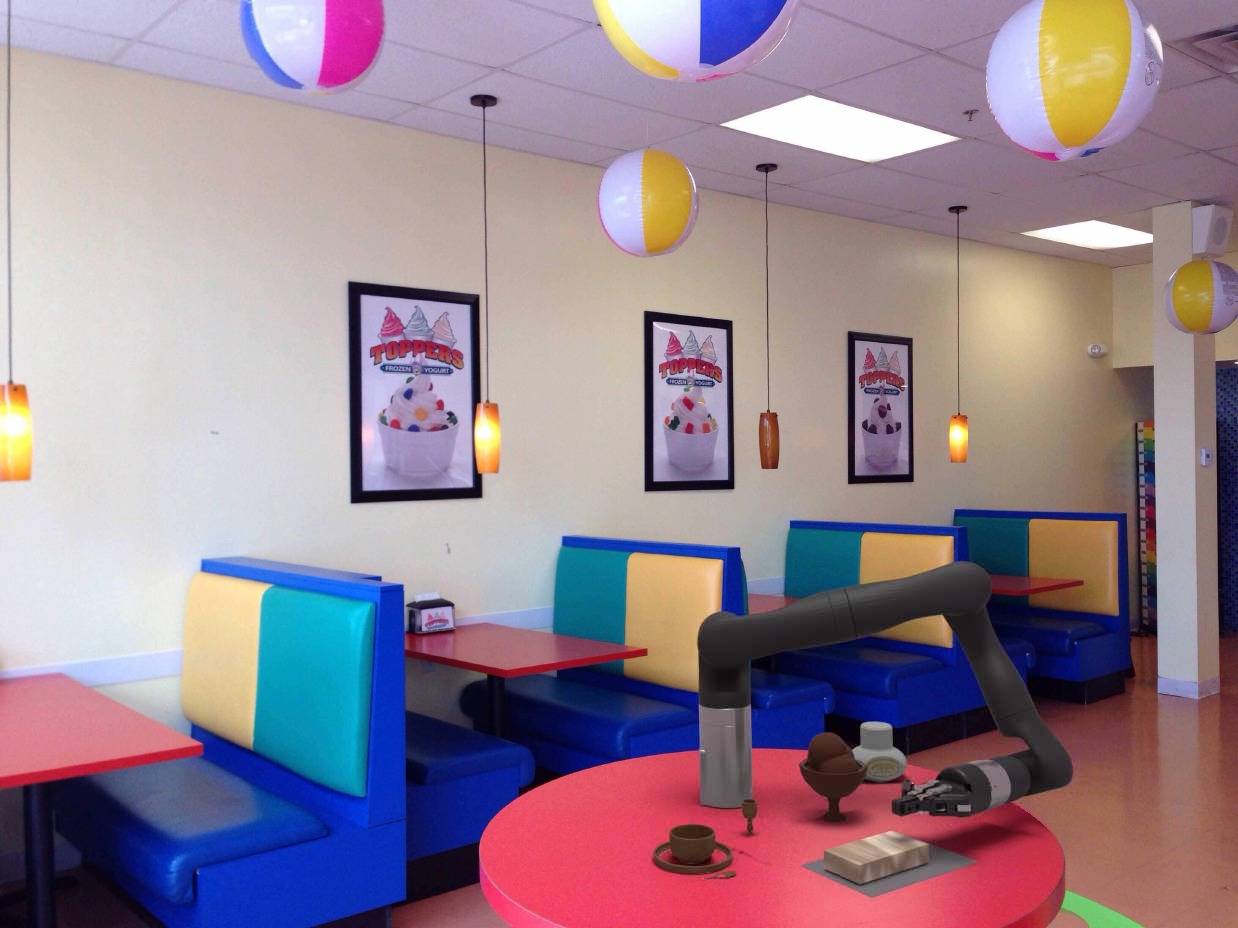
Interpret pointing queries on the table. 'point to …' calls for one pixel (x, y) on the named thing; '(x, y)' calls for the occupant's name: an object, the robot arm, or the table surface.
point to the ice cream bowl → (832, 772)
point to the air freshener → (879, 752)
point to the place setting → (700, 845)
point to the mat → (937, 865)
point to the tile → (876, 857)
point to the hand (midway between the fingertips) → (895, 808)
